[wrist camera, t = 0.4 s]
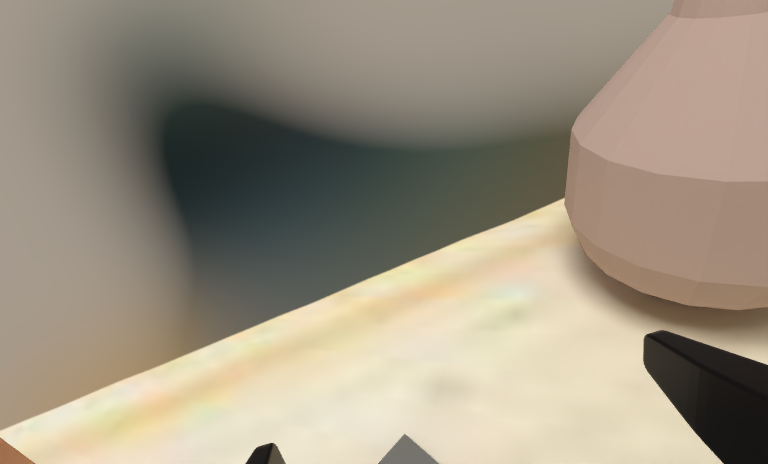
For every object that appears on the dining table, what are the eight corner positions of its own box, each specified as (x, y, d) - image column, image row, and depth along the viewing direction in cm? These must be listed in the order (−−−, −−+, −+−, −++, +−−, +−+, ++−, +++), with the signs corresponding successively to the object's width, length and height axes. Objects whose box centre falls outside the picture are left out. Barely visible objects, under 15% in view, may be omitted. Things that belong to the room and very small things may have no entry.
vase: (668, 200, 41) (748, -202, 25) (907, 301, 26) (1463, -514, 10) (522, 257, 38) (510, -151, 23) (697, 407, 24) (1017, -472, 8)
